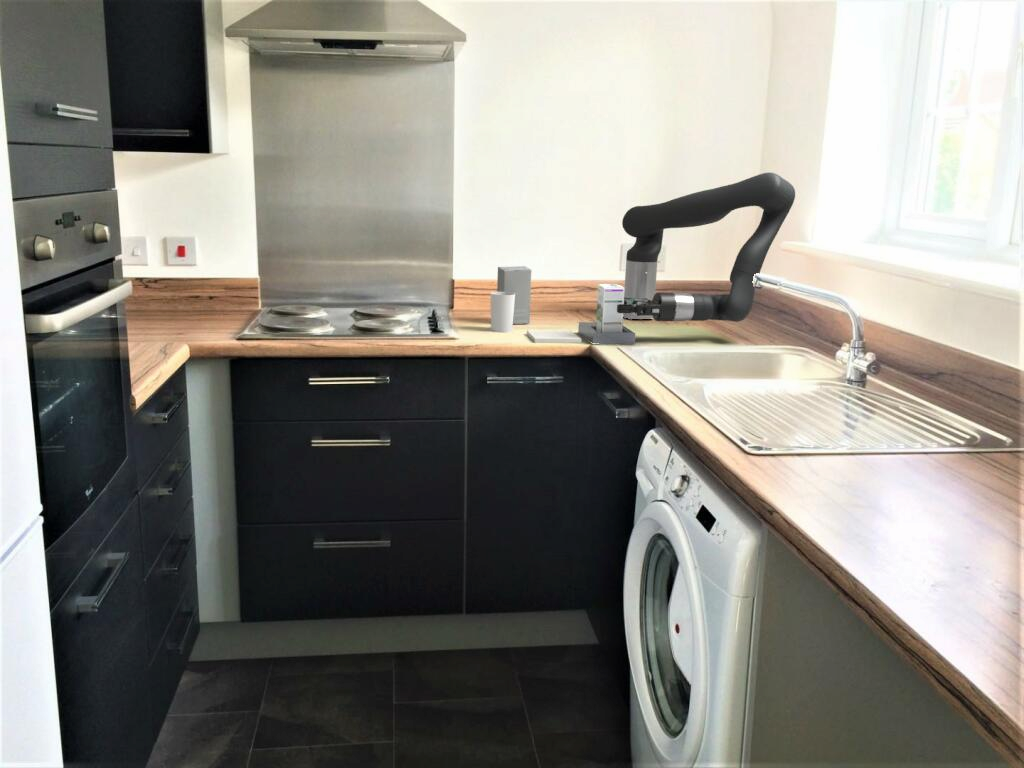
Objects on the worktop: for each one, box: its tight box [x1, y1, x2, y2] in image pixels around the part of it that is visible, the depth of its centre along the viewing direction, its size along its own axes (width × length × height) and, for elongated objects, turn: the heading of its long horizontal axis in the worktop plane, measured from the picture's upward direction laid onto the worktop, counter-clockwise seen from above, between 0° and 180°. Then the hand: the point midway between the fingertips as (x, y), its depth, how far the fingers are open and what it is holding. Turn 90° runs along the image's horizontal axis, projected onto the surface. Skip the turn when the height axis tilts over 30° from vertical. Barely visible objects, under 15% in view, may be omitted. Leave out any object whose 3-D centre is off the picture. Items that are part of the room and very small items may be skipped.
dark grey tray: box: [577, 321, 636, 344], centre depth 245 cm, size 16×11×4 cm
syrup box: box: [595, 283, 625, 332], centre depth 242 cm, size 6×6×14 cm
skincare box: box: [496, 265, 533, 325], centre depth 263 cm, size 8×7×16 cm
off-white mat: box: [526, 329, 582, 344], centre depth 243 cm, size 12×12×1 cm
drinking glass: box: [490, 291, 515, 333], centre depth 251 cm, size 7×7×10 cm
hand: (612, 306), depth 241 cm, fingers open, 8 cm apart
